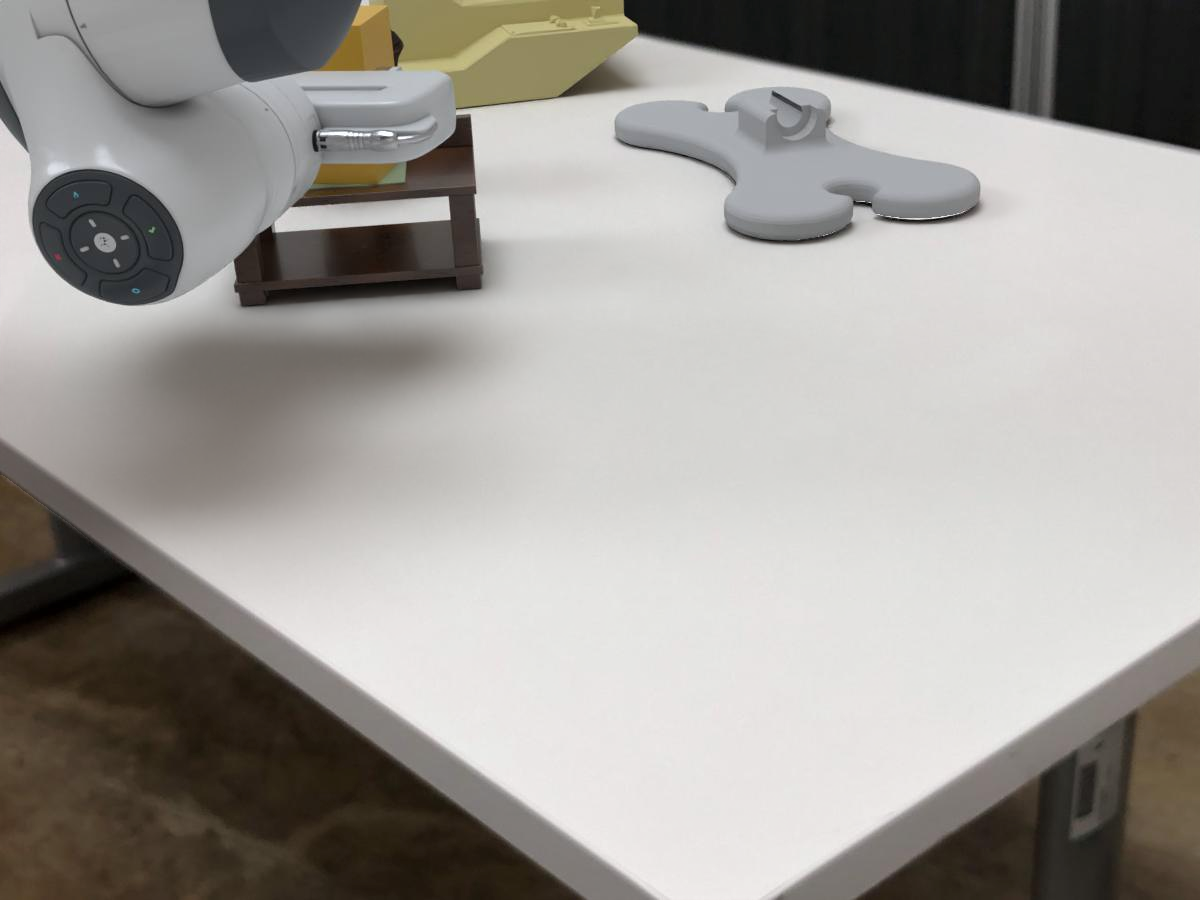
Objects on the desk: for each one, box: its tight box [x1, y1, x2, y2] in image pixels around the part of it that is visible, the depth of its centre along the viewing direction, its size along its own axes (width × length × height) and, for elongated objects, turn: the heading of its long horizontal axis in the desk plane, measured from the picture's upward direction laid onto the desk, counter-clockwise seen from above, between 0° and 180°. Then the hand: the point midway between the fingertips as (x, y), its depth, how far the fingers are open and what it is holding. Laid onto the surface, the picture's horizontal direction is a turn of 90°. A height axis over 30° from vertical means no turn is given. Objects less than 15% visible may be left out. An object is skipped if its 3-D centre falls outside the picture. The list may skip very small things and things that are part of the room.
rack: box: [233, 113, 484, 307], centre depth 104 cm, size 16×10×9 cm, turn 95°
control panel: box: [368, 0, 639, 109], centre depth 151 cm, size 24×16×20 cm
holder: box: [614, 86, 981, 241], centre depth 122 cm, size 19×34×5 cm, turn 18°
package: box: [312, 4, 398, 184], centre depth 101 cm, size 5×6×10 cm
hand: (318, 80), depth 96 cm, fingers open, 8 cm apart
